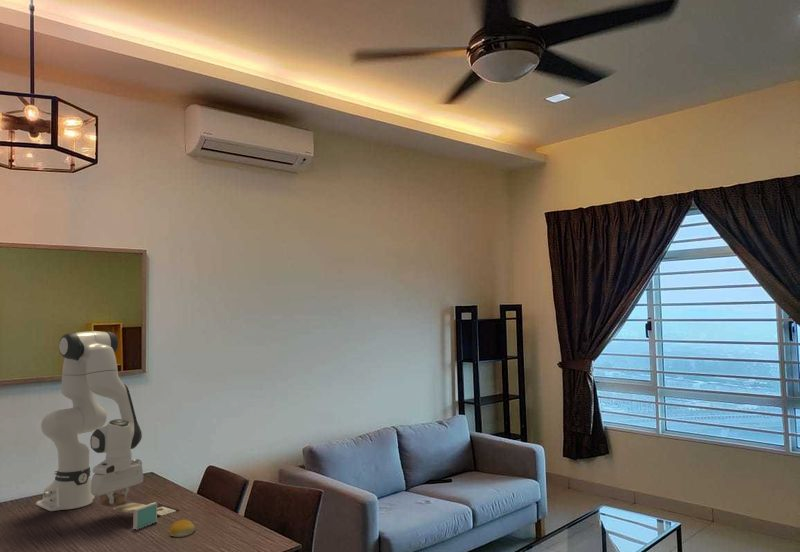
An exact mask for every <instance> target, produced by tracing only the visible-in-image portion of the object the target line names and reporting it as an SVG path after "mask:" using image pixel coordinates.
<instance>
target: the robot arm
mask: <svg viewBox="0 0 800 552" xmlns="http://www.w3.org/2000/svg"><path fill="white" fill-rule="evenodd" d="M118 348H119V339H118V336H117V335H116V334H115V333H114V332H112V331H99V330H98V331H97V330H89V331H79V332H78V331H77V332H69V333H65V334H63V335H62V336H61V337H60V339H59V341H58V351H59V354H60V355H61V357H63V358H64V360H63V364H62V371H61V372H62V373H61V374H62V375H61V387H60V388H61V390H60V391H61V393H62V395H63V396H64V397H65V398H67V399H70V400H71V402H72V407H69V408H63V409H58V410H57V409H56V410H54V411H52V412H49V413H47V414H45V415H44V416H43V418H42V420H41V422H40V428H41V432H42V433H43V435H44V436H45V437H47V438H49V439H50V440H51V441H52V442H53V443H54V445H55V447H56V450H57V456H58V457H57V458H58V459H57V460H58V464H57V468H58V469H57V470H56V471H54V475H55V477H54V480H53V481H52V482H51V483H50V484H49V485H47V486H46V487H45V488H44V490H43V494H42V499H40V500H38V501H36V503H35V506H38V507H40V508H41V509H45V510H46V511H49V512H54V511H61V510H62V511H63V510H73V509H78V508H82V507H86V506H88V505H90V504H92V503H93V502H94V501H93V500H94V499H95V498H96V497H100V495H103V494H107V496H108V498H109V503H110V504H113V503H116V498H114V497H113V495H112V494H114V493H115V491H120V490H122V492H121V494H124V495H125V500H127V495H128V492H129V490H130V487H132V486H135V485H139V484H141V483H143V482H144V472H143V471H144V470H143V461H142V459H141V460H140V459H139V458H136V459H134V460H132V456H133V455H132V449H134V450H135V448H136V447H137V446H138V445H139V443H140V442H141V441H142V438H143V432H142V429H141V427H140V424H139V423H138V420H137V416H136V411H135V409H134V404H133V400H132V396H131V393H130V389H129V387H128V385H126V384H125V383H124V382H122V380H121V378H120V376H119V369H118V363H117V357H116V354H115V353H116V352H117V350H118ZM94 394H95V395H98V396H101V397H104V398H108V399H110V400H113V401H114V402H116V404H117V405H118V406H117V407H118V409H119V413H120V417H121V418H119V419H118V418H117V419H112V420H110V421H108V423H107V424H106V422H107V417H108V415H107V412H106V409H105V408H104V407H103V406H101V405H100V404H99V403H98V402H97V401H96V399H95V396H94ZM105 424H106V425H105ZM90 432H91V433H92V434H91V436H90V442H89V443H90V448H91V449H92V450H93V451H94V452H95V453H97V454H106V455H105V459H104V460H103V461H101V462H100V463H98V464H97V465H95V466H93V468H92V473H93V475H92V477H91V478H90V476H91V467H90V448H89V447H88V446H87V445H86V444H84V443H82V442H80V441H79V438H78V437H79V435H80V434H86V433H90ZM95 496H96V497H95Z"/></svg>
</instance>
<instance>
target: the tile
mask: <svg viewBox="0 0 800 552" xmlns="http://www.w3.org/2000/svg"><path fill="white" fill-rule="evenodd" d="M152 502H153V503H151V502H149V503H150V504H148V505H145V506H142V507H139V508H136V509H133V512H132V513H133V515H132V517H133V518H132V521H133V523H132V529H133V530H134V529H136V530H135V531H138V530H140V529H142V527H143V528H145V527H147V525H148V526H150V525H153V524H155V522H156V523H157V522H158V517H157V503H158V502H156V501H152ZM152 523H153V524H152ZM144 526H145V527H144ZM139 528H140V529H139ZM137 529H138V530H137Z"/></svg>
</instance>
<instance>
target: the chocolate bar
mask: <svg viewBox="0 0 800 552" xmlns="http://www.w3.org/2000/svg"><path fill="white" fill-rule="evenodd" d="M153 502H154V501H151V502H148V503H145V504H144V503H143V504H144V505H148V504H150V503H153ZM156 503H157V518H161V517H164V516H163V515H165V516H168V515H171V514H174V513H177V512H176V511H178V512H180V509H178V508H176V507H172V506H168V505H165V504H162V503H158V502H156ZM173 512H174V513H173ZM170 513H171V514H170ZM167 514H168V515H167ZM160 516H161V517H160Z"/></svg>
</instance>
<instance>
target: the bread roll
mask: <svg viewBox="0 0 800 552" xmlns="http://www.w3.org/2000/svg"><path fill="white" fill-rule="evenodd" d="M195 528H196V527H195V524H193V522H191V521H190V520H188V519H180V520H177V521H175V522H173V524H171V526H170V528H169V533H168V534H169V536H170V537H172V536H173V537H172V538H182V537H188V536H190V535H192V534H193V533H194V532H195V531H196V529H195Z"/></svg>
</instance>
